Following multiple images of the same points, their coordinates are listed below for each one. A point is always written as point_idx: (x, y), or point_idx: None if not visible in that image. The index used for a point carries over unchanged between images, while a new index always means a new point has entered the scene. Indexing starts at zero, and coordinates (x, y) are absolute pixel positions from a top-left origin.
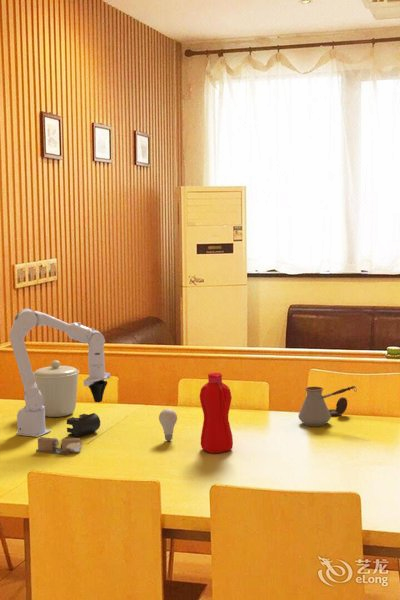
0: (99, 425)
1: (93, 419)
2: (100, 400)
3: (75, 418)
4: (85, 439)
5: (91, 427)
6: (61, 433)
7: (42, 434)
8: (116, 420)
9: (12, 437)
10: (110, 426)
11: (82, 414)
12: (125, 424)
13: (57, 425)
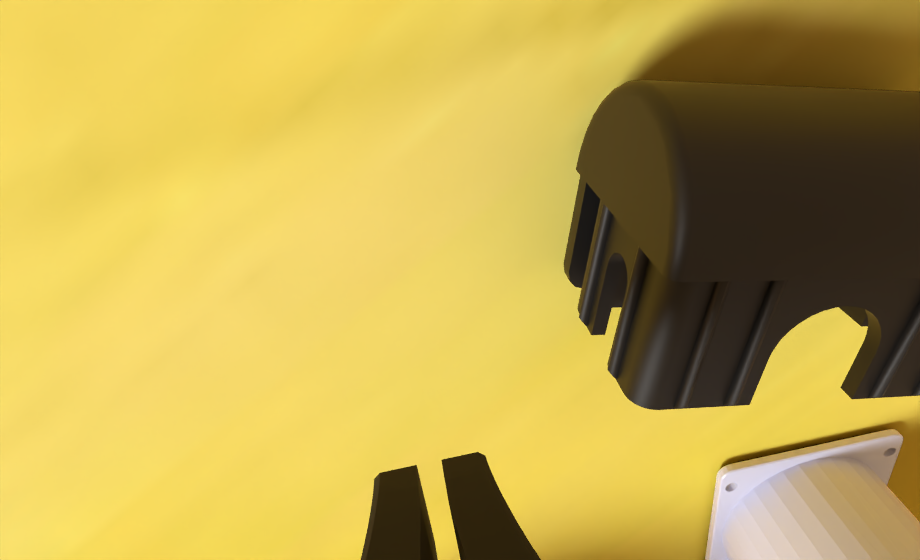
0: (646, 80)
1: (808, 137)
2: (454, 479)
3: (914, 332)
4: (914, 6)
5: (808, 87)
6: None
7: (840, 443)
8: (12, 283)
9: None
10: (283, 149)
11: (689, 404)
12: (49, 25)
13: None
